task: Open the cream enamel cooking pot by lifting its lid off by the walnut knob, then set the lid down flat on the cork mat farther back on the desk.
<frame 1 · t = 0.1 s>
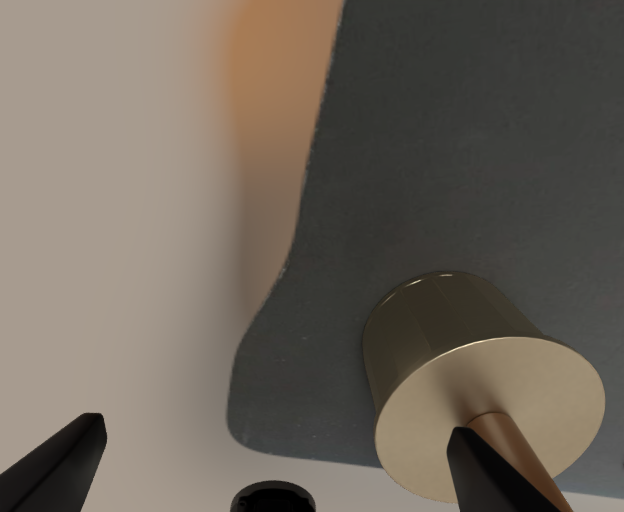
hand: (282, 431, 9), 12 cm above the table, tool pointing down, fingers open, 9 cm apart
lid: (483, 422, 17), point 6 cm above the table, touching pot
pot: (436, 337, 23), on the table
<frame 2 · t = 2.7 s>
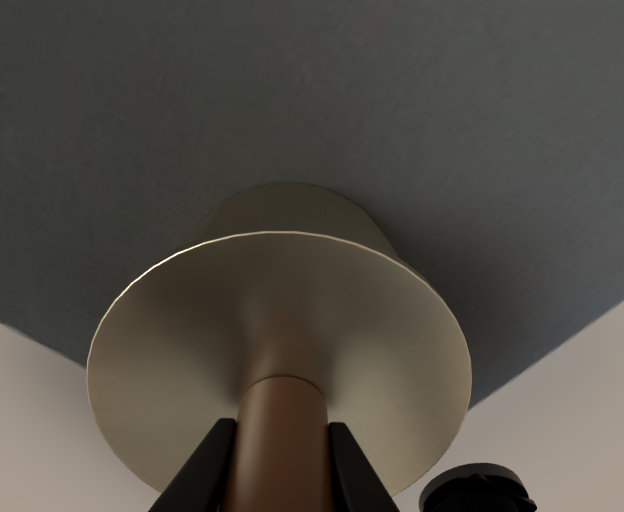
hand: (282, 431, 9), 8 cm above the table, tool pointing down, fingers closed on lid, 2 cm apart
lid: (284, 395, 11), point 6 cm above the table, touching gripper, pot
pot: (289, 286, 16), on the table
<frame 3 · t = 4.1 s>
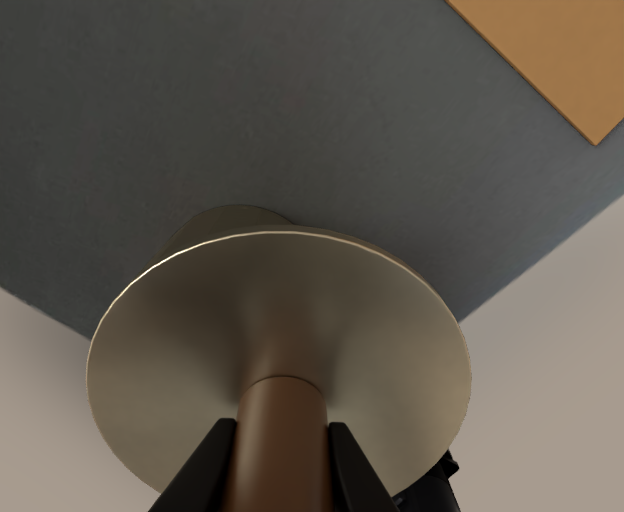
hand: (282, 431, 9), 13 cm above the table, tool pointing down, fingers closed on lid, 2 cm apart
lid: (283, 395, 11), point 12 cm above the table, touching gripper
pot: (243, 279, 22), on the table
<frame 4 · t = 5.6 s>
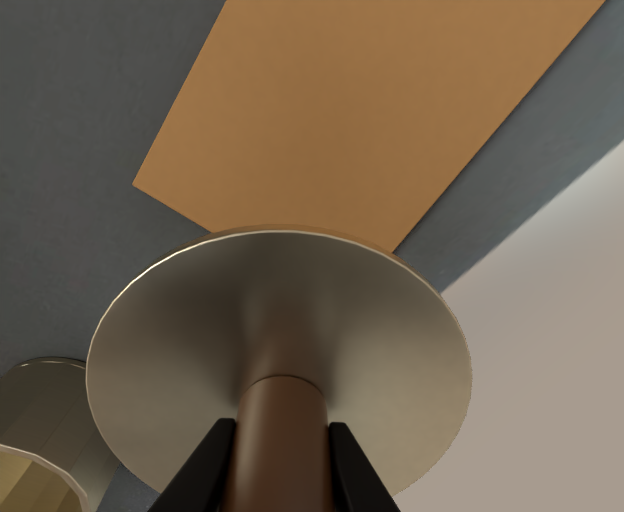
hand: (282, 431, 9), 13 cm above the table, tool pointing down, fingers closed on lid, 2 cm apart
mat: (363, 80, 18), on the table
lid: (283, 394, 10), point 12 cm above the table, touching gripper
pot: (69, 410, 26), on the table
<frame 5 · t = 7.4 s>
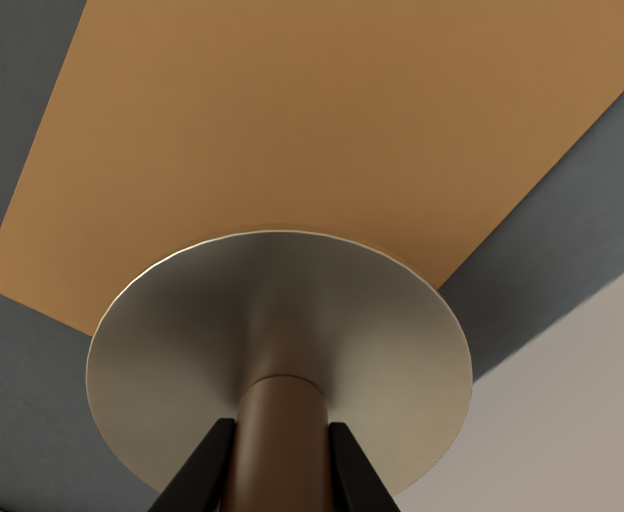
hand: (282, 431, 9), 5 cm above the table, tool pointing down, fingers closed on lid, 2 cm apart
mat: (314, 134, 12), on the table
lid: (284, 394, 10), point 4 cm above the table, touching gripper
when the fingers open (2 cm above the table, at t = 8.5 s): lid stays where it is, resting on mat.
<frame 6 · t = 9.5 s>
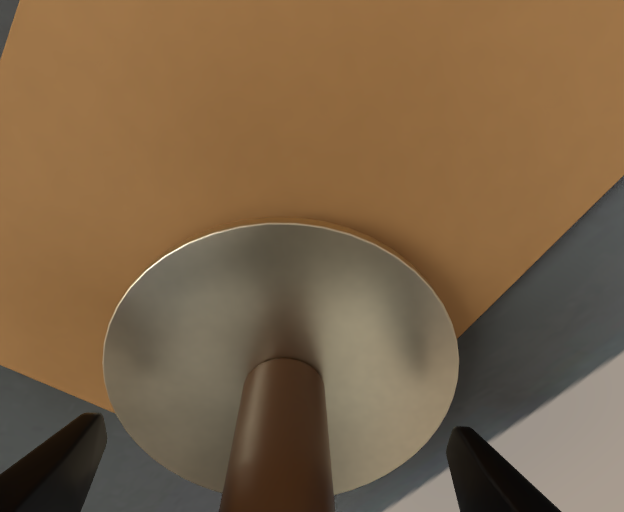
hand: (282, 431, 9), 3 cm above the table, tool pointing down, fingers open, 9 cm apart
mat: (317, 151, 9), on the table
lid: (284, 377, 11), point 1 cm above the table, touching mat
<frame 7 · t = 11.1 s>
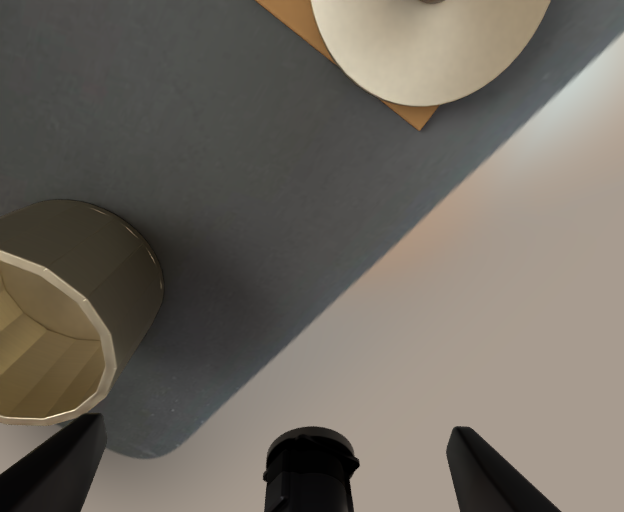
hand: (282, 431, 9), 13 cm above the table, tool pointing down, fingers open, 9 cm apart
pot: (82, 276, 22), on the table
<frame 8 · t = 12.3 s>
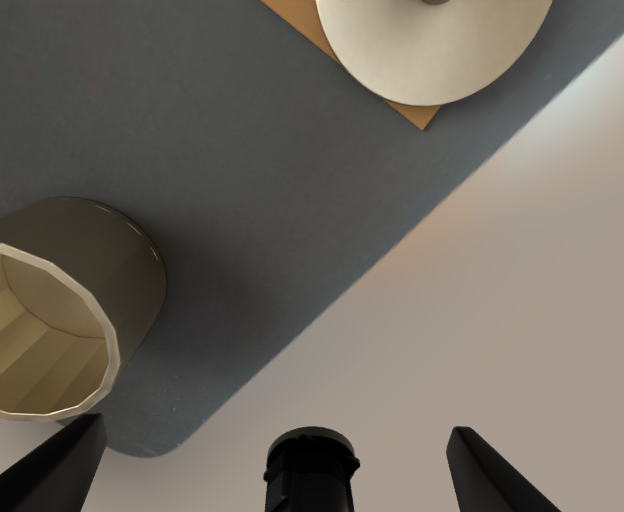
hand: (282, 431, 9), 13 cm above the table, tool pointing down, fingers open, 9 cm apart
pot: (86, 274, 22), on the table
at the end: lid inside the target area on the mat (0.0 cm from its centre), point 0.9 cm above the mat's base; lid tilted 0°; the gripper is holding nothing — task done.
